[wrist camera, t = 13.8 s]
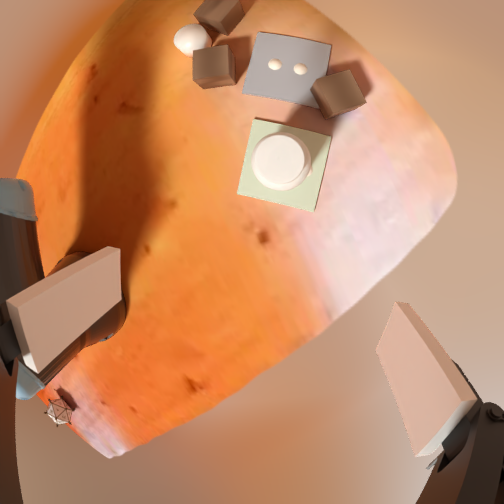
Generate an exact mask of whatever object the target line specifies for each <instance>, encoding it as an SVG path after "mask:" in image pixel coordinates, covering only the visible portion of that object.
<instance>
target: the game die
mask: <svg viewBox="0 0 504 504" xmlns="http://www.w3.org/2000/svg"><path fill="white" fill-rule="evenodd" d="M62 398H63V396H61V398H60V399H55V400H51V401H50V399H48V400H49V401H50V402H49V405H48V409H47V412H44V413H45V414H46V413H47V414H48V415H49V416H50V417H51V418H52V419H53V421H55V423H56V424H57V427H58V425H59V424H64V423H69V424H71V422H70V419H71V414H72V411H74V410H75V409H71V408H70V407H69V406H68V405H67V403H66V402H65V401H64V400H63V399H62ZM71 425H72V424H71Z"/></svg>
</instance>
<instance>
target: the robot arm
mask: <svg viewBox="0 0 504 504" xmlns="http://www.w3.org/2000/svg"><path fill="white" fill-rule="evenodd" d="M36 221H38V218H37V216H36V213H35V205H34V195H33V189H32V187H31V185H30V184H29V183H28V182H27V181H25V180H22V179H12V178H0V504H23V500H22V494H21V489H20V483H19V476H18V467H17V457H16V443H15V402H16V398H18V399H21V400H28V399H30V398H31V397H33V396H34V395H35V394H36V393H37V392H38V391H40V390H41V389H44V388H45V386H46V385H47V384H48V383H49V382H50V381H51V380H52V379H53V378H54V377H55V376H56V375H57V374H58V373H59V372H60V371H61V370H62V369H63V368H64V367H65V366H66V365H67V364H68V363H69V362H70V361H71V360H72V359H73V358H74V357H75V356H76V355H77V354H78V353H79V352H80V351H81V350H82V349H83V348H85V347H88V346H90V345H93V344H95V343H97V342H99V341H105V340H107V339H109V338H111V337H112V336H113V335H115V334H116V333H117V332H118V331H119V330H120V329H121V327H122V326H123V324H124V321H125V316H126V305H125V299H124V296H123V292H122V290H121V272H120V249H119V248H114V247H110V246H107V247H105V248H103V249H101V250H99V251H97V252H95V253H93V254H90V253H87V252H74V253H72V254H70V255H68V256H65V257H64V258H62V259H61V260H60V261H59V262H58V263H57V265H56V266H55V268H54V269H53V270H52V271H51V272H50V273H49V274H48V275H47V276H46V278H45V276H44V271H43V266H42V261H41V255H40V249H39V242H38V235H37V226H36ZM376 352H377V354H378V357H379V360H380V362H381V364H382V367H383V369H384V372H385V374H386V377H387V379H388V382H389V384H390V387H391V389H392V392H393V395H394V397H395V400H396V402H397V405H398V408H399V411H400V414H401V416H402V419H403V422H404V425H405V428H406V431H407V434H408V437H409V440H410V443H411V446H412V449H413V452H414V456H415V457H417V456H423V455H429V454H432V453H433V452H434V451H435V450H436V449H437V448H438V447H439V446H440V445H441V444H442V446H443V448H444V451H443V452H442V453H441V454H440V455H439V456H438V457H437V458H436V459H435V460H434V461H433V462H432V463H430V464H429V466H428V467H427V469H430V468H431V467H432V466H433V465H435V466H434V468H433V470H432V473H431V475H430V477H429V479H428V481H427V483H426V485H425V487H424V489H423V491H422V493H421V495H420V497H419V499H418V500H417V502H416V504H504V411H503V410H502V409H501V408H500V407H499V406H498V405H496V404H494V403H491V402H487V403H483V402H482V400H481V398H480V397H479V395H478V394H477V392H476V391H475V389H474V388H473V386H472V384H471V383H470V382H468V379H467V377H466V376H465V375H464V373H463V372H462V370H461V368H460V367H459V366H458V364H456V363H455V362H454V361H453V360H452V359H450V357H449V356H448V354H447V353H446V352H445V350H444V349H443V347H442V346H441V345H440V343H439V342H438V341H437V339H436V338H435V337H434V336H433V334H432V333H431V331H430V330H429V329H428V327H427V326H426V325H425V324H424V322H423V321H422V320H421V318H420V317H419V316H418V315H417V314H416V312H415V311H414V310H413V308H412V307H411V306H410V305H409V304H408V303H400V302H395V304H394V306H393V309H392V312H391V314H390V317H389V320H388V322H387V324H386V327H385V329H384V332H383V334H382V336H381V339H380V341H379V343H378V346H377V348H376Z"/></svg>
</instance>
